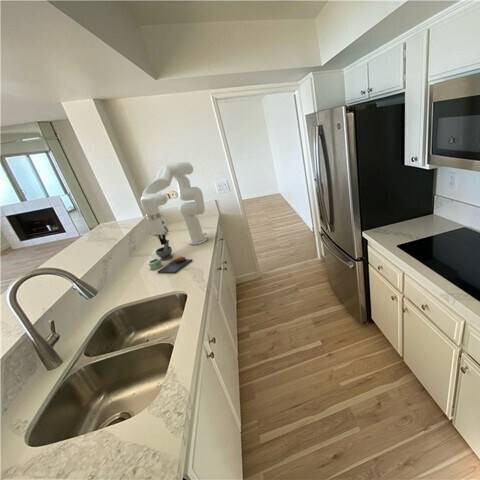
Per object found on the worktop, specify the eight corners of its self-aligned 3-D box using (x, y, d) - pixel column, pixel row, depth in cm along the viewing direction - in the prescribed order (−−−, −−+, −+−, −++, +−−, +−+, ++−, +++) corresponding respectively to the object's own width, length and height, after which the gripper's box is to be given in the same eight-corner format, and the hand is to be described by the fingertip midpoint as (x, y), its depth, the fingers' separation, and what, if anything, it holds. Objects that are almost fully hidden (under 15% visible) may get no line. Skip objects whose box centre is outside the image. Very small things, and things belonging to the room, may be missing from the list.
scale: (176, 260, 180) (175, 256, 178) (192, 260, 176) (191, 256, 175) (158, 273, 165) (156, 269, 164) (175, 273, 162) (173, 269, 161)
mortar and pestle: (166, 261, 180) (160, 245, 175) (155, 261, 183) (149, 245, 178) (178, 254, 190) (173, 238, 185) (168, 253, 193) (162, 238, 188)
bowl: (156, 264, 177) (153, 258, 175) (165, 265, 175) (162, 258, 173) (148, 270, 171) (145, 263, 169) (157, 270, 169) (154, 263, 167)
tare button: (180, 258, 176) (179, 256, 175) (183, 258, 175) (182, 255, 175) (176, 260, 173) (176, 258, 173) (180, 260, 173) (179, 258, 172)
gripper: (168, 214, 163) (178, 241, 170) (148, 215, 166) (158, 241, 173) (159, 218, 156) (170, 246, 163) (139, 219, 159) (150, 246, 167)
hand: (164, 243), depth 168 cm, fingers closed
